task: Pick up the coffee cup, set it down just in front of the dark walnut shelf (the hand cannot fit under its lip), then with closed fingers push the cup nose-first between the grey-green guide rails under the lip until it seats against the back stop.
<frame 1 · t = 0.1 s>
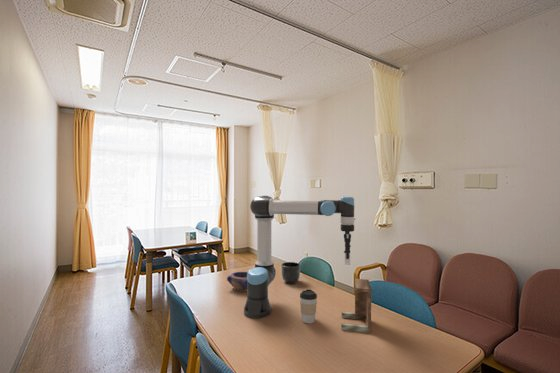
hand: (347, 261, 158), 28 cm above the table, fingers open, 13 cm apart
planter: (290, 282, 206), on the table
bowl: (242, 288, 193), on the table
coffee cup: (308, 320, 147), on the table
shelf: (353, 324, 143), on the table
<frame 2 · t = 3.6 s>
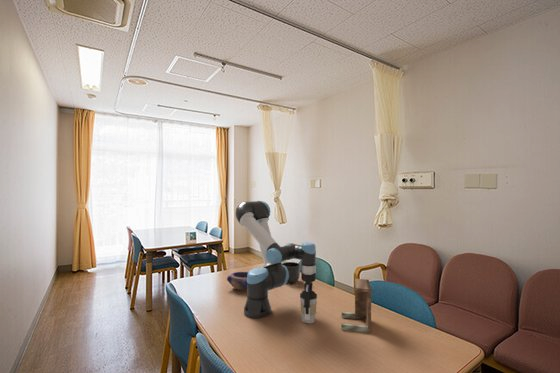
hand: (308, 315, 147), 2 cm above the table, fingers closed on coffee cup, 9 cm apart
coffee cup: (308, 320, 147), on the table, touching gripper
everything else where it was.
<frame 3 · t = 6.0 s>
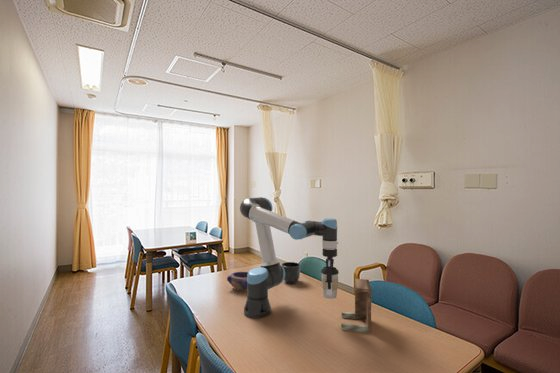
hand: (329, 291, 146), 16 cm above the table, fingers closed on coffee cup, 8 cm apart
coffee cup: (329, 296, 146), point 13 cm above the table, touching gripper
everything else where it was.
when the fingers open (4 cm above the table, at t = 8.5 s): coffee cup drops 1 cm, on the table.
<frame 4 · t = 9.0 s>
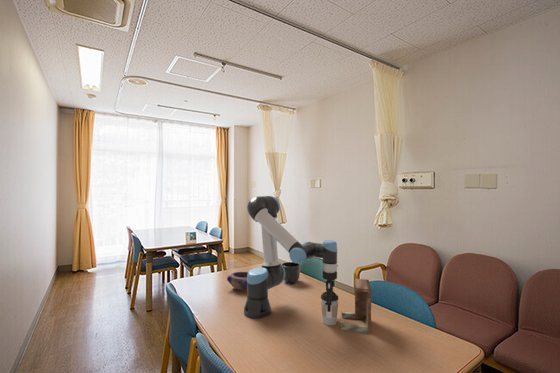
hand: (329, 311, 146), 5 cm above the table, fingers open, 13 cm apart
coffee cup: (329, 322, 145), on the table
everything else where it was.
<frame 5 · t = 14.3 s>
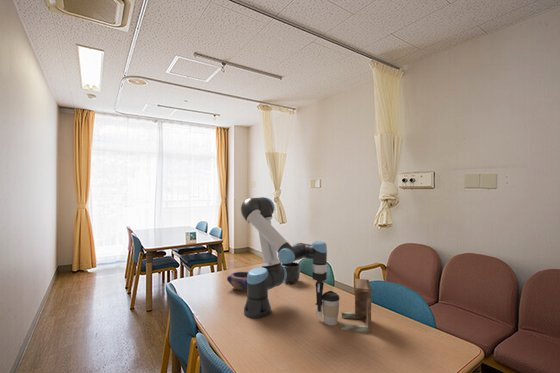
hand: (319, 316, 147), 2 cm above the table, fingers closed
coffee cup: (330, 322, 145), on the table, touching gripper
everything else where it was.
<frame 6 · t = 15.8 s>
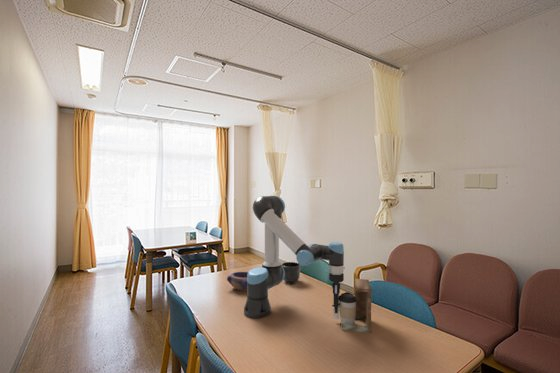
hand: (336, 318, 145), 2 cm above the table, fingers closed
coffee cup: (347, 324, 143), on the table, touching gripper
everything else where it was.
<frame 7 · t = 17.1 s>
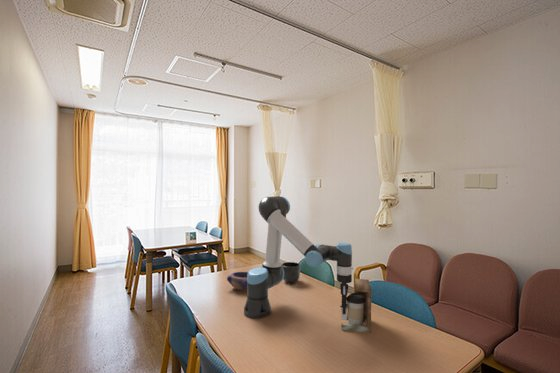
hand: (344, 319, 144), 2 cm above the table, fingers closed
coffee cup: (355, 325, 142), on the table, touching gripper
everything else where it was.
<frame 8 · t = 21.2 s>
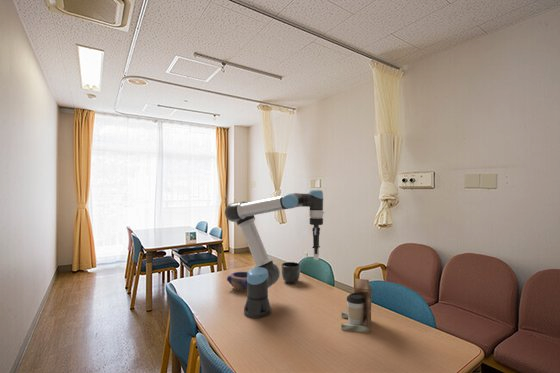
hand: (316, 259, 157), 29 cm above the table, fingers closed
coffee cup: (355, 325, 142), on the table
everything else where it was.
at the end: coffee cup inside the target area (0.6 cm from its centre), on the table; coffee cup tilted 0° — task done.
